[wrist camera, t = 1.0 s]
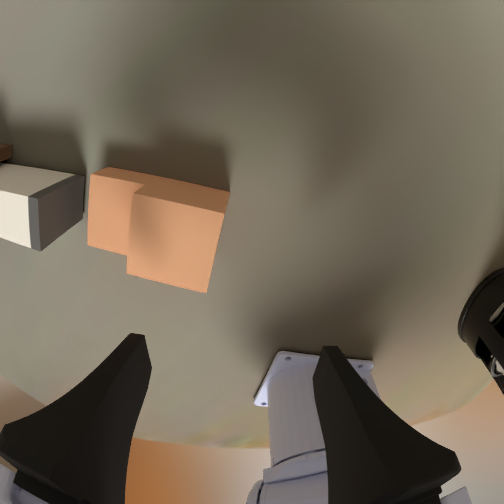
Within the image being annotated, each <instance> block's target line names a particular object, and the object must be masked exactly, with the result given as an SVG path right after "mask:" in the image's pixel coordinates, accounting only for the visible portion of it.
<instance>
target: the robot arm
mask: <svg viewBox="0 0 504 504" xmlns="http://www.w3.org/2000/svg"><path fill="white" fill-rule="evenodd" d="M287 357H289V358H287ZM373 366H374V363H373V361H368V360H356V359H347V358H346V357H345V356H344V354H343V353H342V352H341V350H340V349H339V348H338V346H323V348H322V351H321V354H320V356H317V355H309V354H302V353H294V352H287V351H280V352H278V353H277V354H276V356H275V358H274V360H273V362H272V364H271V367H270V369H269V371H268V373H267V375H266V377H265V379H264V381H263V383H262V385H261V387H260V389H259V391H258V393H257V395H256V397H255V399H254V404H255V405H257V406H266V407H268V418H269V437H270V454H271V468H268V469H264V470H263V480H260V481H257V482H256V483H255V485H254V486H253V488H252V490H251V491H250V493H249V495H248V497H247V502H246V504H472V503H471V500H470V497H469V494H468V491H467V488H466V487H463V488H461V489H459V490H457V491H455V492H453V493H451V494H449V495H447V496H445V497H443V498H441V499H440V498H439V495H438V494H440V493H441V492H442V489H441V485H443V484H444V483H446V482H447V481H449V480H450V479H452V478H453V477H454V476H456V475H457V474H458V473H459V472H460V471H461V466H460V463H459V461H458V458H457V456H456V454H455V452H454V451H452V450H450V449H448V448H445V447H443V446H441V445H439V444H437V443H435V442H434V441H432V440H430V439H429V438H427V437H425V436H424V435H422V434H421V433H419V432H418V431H416V430H415V429H414V428H412V427H411V426H410V425H408V424H407V423H406V422H404V421H403V420H402V419H401V418H399V417H398V416H397V415H396V414H395V413H394V412H393V411H392V410H391V409H389V408H388V407H387V406H386V405H385V404H384V403H383V402H382V401H381V399H380V396H379V393H378V391H377V388H376V385H375V383H374V380H373V377H372V375H371V372H370V371H371V369H372V368H373ZM151 370H152V366H151V362H150V358H149V354H148V349H147V345H146V340H145V336H144V335H141V334H134V333H130V334H129V335H128V336H127V337H126V338H125V339H124V340H123V341H122V342H121V343H120V344H119V345H118V347H117V348H116V349H115V350H114V351H113V352H112V353H111V354H110V355H109V356H108V357H107V358H106V359H105V360H104V361H103V362H102V363H101V364H100V365H99V366H98V367H97V368H96V369H95V370H94V371H93V372H91V373H90V374H89V375H88V376H87V377H86V378H85V379H84V380H83V381H81V382H80V383H79V384H78V385H77V386H75V387H74V388H73V389H72V390H70V391H69V392H68V393H66V394H65V395H63V396H62V397H60V398H59V399H57V400H56V401H54V402H53V403H51V404H49V405H48V406H46V407H45V408H43V409H41V410H39V411H37V412H35V413H33V414H31V415H29V416H27V417H24V418H22V419H20V420H17V421H14V422H11V423H9V424H6V425H4V427H3V429H2V431H1V433H0V456H1V457H3V458H4V459H5V460H6V461H8V462H9V463H10V464H11V465H13V466H14V467H15V468H16V469H18V470H17V473H16V474H15V473H14V472H12V471H11V470H9V469H8V468H6V467H5V466H3V465H1V464H0V504H125V485H126V473H127V465H128V458H129V452H130V446H131V440H132V436H133V432H134V429H135V426H136V422H137V419H138V416H139V413H140V410H141V407H142V404H143V401H144V398H145V395H146V392H147V389H148V385H149V380H150V375H151Z"/></svg>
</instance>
